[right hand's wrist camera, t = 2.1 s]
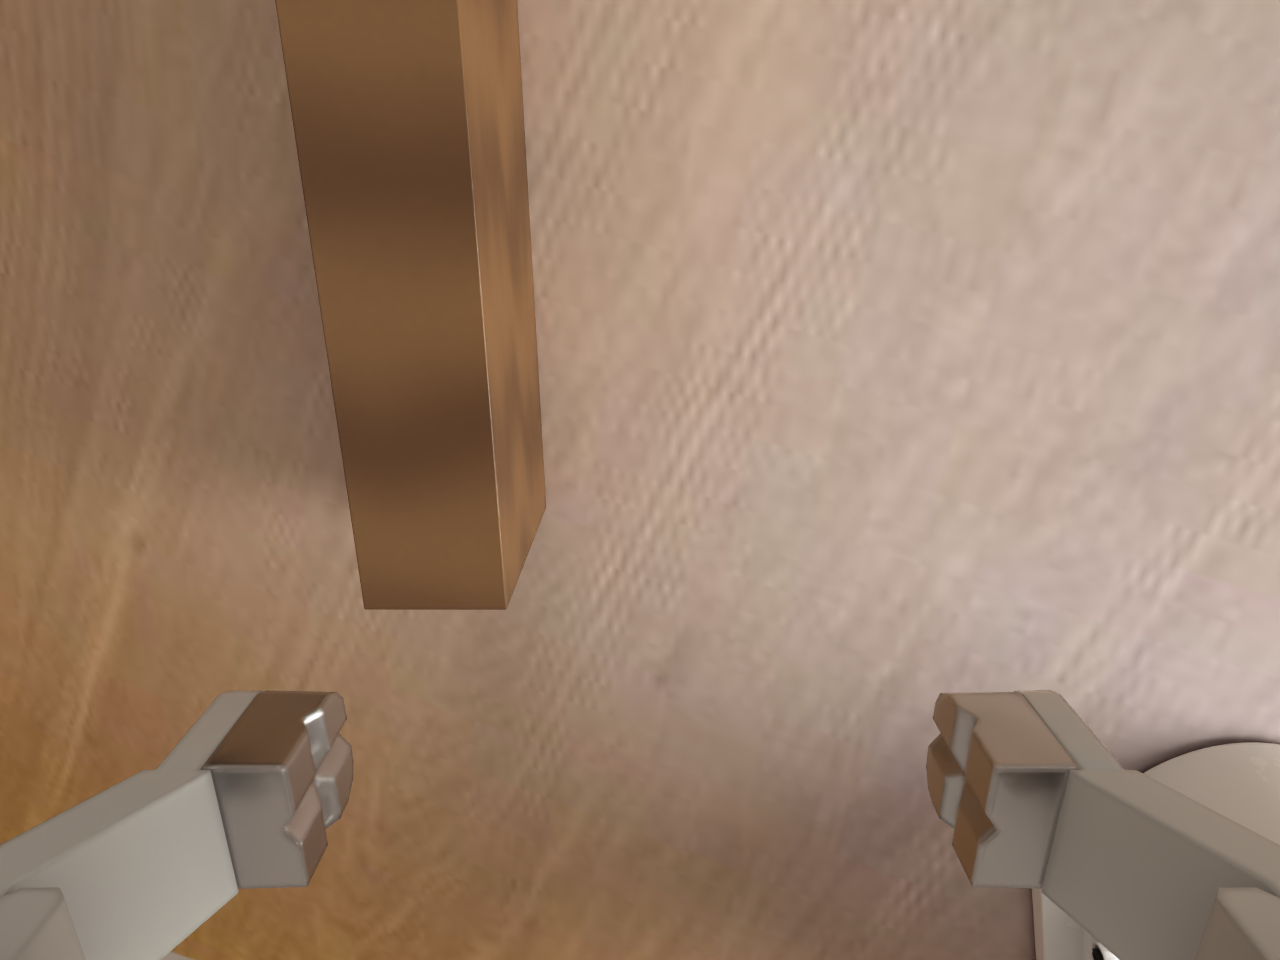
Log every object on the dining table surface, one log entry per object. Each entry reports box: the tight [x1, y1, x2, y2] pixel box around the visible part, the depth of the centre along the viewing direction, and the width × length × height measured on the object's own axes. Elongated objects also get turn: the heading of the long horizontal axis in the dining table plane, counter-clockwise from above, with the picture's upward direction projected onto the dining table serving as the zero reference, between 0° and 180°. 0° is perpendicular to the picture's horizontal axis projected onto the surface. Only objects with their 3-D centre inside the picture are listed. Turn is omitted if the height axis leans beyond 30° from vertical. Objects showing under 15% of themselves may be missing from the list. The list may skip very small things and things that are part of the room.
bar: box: [275, 0, 546, 609], centre depth 26 cm, size 26×5×9 cm, turn 1°
